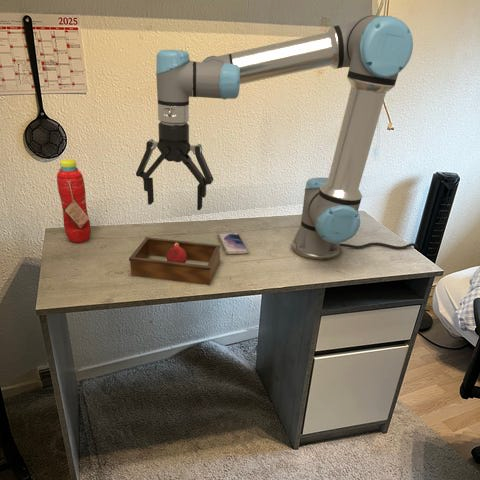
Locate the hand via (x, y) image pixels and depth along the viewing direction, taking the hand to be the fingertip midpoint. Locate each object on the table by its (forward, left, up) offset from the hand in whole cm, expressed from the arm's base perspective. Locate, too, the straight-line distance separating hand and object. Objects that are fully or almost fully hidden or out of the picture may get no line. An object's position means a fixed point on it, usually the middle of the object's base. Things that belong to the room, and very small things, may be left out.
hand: (175, 205), depth 127 cm
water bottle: (+35, -10, -19) cm, 41 cm away
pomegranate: (0, 0, -19) cm, 19 cm away
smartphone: (-13, -20, -19) cm, 31 cm away
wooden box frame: (0, 0, -19) cm, 19 cm away
